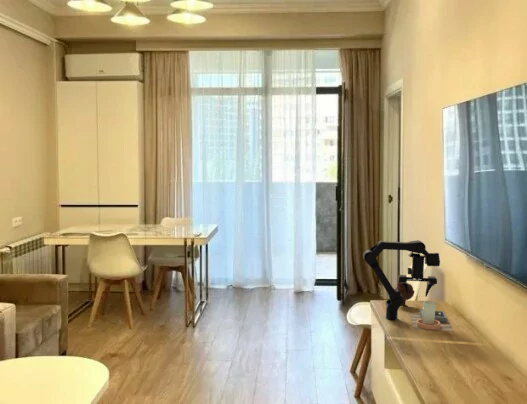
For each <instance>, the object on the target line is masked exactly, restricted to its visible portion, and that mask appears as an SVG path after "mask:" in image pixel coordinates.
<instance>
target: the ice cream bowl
mask: <svg viewBox="0 0 527 404" xmlns="http://www.w3.org/2000/svg"><path fill="white" fill-rule="evenodd" d="M407 286H408V296H407V294H406V290H405V287H404V285H403V284H401V282H399V281H398V282H397V286H396V288H395V289H398V290H399V292H400V294H401V295H402V297H403V298H402V299H403V304H402V305H401V306H400V307H404V308H406V307H407V308H408V307H409V305H407V304H406V301H408V300H411V299H412V298H413V297H414V294H415V290H414V287H413V286H412V284H411V283H408V282H407Z"/></svg>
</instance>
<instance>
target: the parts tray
mask: <svg viewBox="0 0 527 404" xmlns="http://www.w3.org/2000/svg"><path fill="white" fill-rule="evenodd" d="M419 313H420V317H421V319H422V309H419ZM447 319H448V317H447V315H446V313H445V312H444V310H435V320H436V321H439V322H442V323H447Z"/></svg>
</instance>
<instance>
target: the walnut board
mask: <svg viewBox="0 0 527 404" xmlns="http://www.w3.org/2000/svg"><path fill="white" fill-rule="evenodd" d="M408 315H409V319H410V322H411V325H412V327H413V330H418V331H420V330H421V331H434V332H435V331H436V332H451V333H455V332H456V331H455V329H454V328H453V326H452V324H451V322H450V321H449V319H448V318H447V323H442V322H440V324H441V327H440V328H439V329H435V330H432V329H423V328H420V327H417V325H416V320H418V319H421V317H420V312H408Z"/></svg>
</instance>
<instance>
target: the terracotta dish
mask: <svg viewBox="0 0 527 404" xmlns="http://www.w3.org/2000/svg"><path fill="white" fill-rule="evenodd" d="M416 325H417V327H420V328H423V329H432V330H435V329H439V328H440V327H441V324H440V322H439V321H436V320H435V323H434V325H425V324H422V319H418V320H416ZM432 330H431V331H432Z"/></svg>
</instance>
